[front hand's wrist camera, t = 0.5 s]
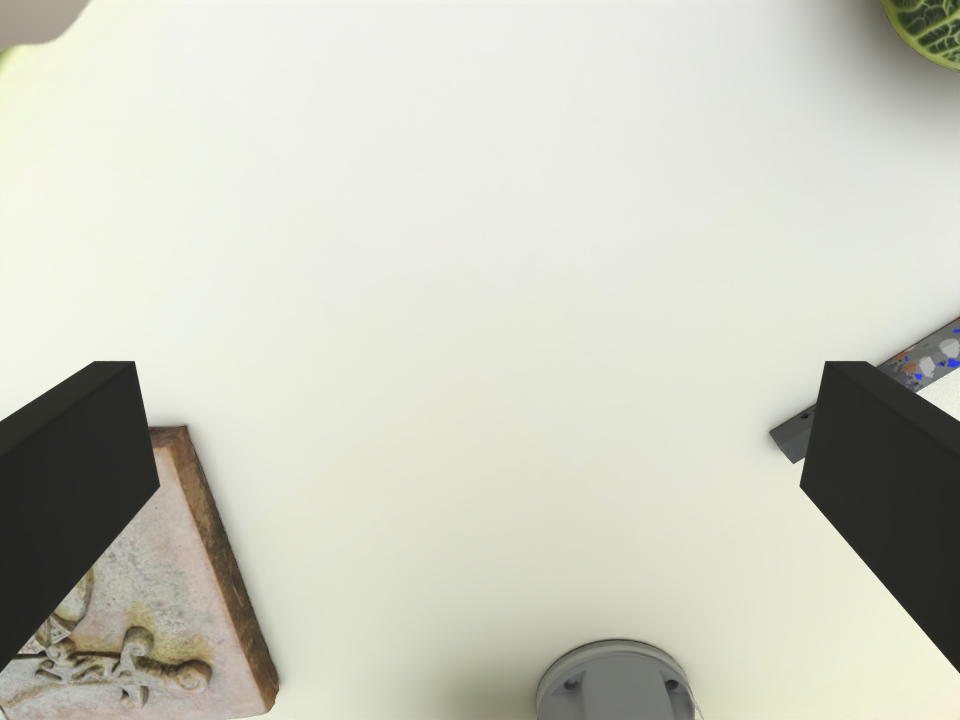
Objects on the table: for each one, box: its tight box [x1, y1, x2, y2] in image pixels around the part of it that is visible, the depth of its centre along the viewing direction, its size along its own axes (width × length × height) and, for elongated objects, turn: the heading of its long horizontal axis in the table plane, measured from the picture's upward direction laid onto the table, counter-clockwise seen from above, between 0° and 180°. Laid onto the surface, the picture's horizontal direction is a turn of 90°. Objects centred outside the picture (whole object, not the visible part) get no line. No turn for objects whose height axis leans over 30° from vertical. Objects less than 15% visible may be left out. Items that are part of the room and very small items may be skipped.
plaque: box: [0, 426, 279, 720], centre depth 56 cm, size 30×7×30 cm
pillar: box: [769, 318, 960, 464], centre depth 50 cm, size 2×2×20 cm
